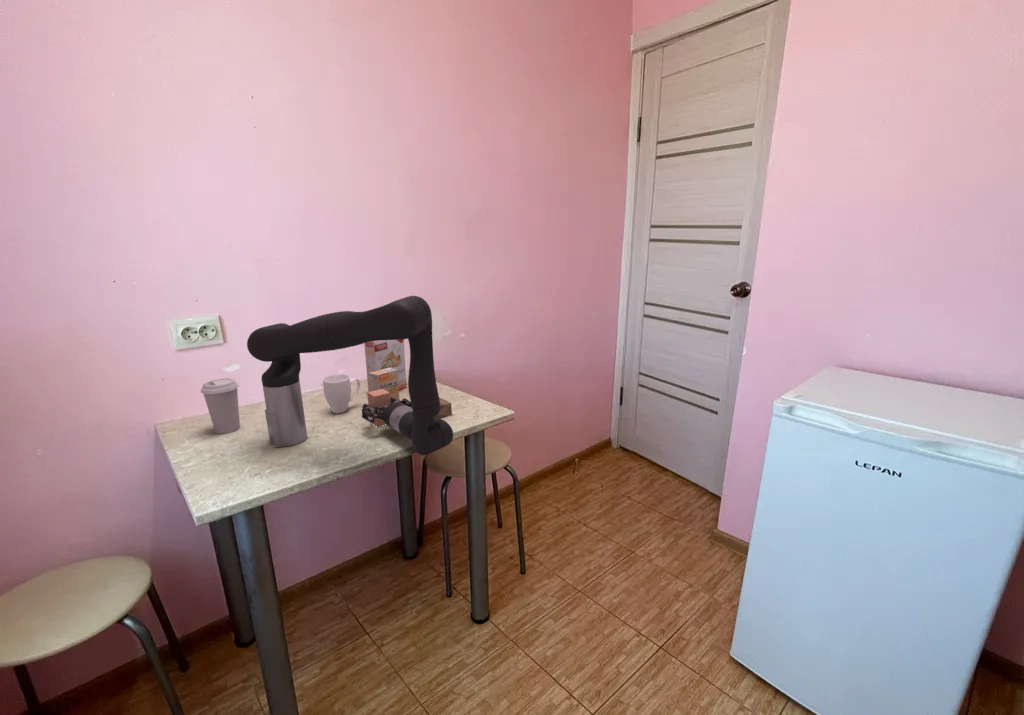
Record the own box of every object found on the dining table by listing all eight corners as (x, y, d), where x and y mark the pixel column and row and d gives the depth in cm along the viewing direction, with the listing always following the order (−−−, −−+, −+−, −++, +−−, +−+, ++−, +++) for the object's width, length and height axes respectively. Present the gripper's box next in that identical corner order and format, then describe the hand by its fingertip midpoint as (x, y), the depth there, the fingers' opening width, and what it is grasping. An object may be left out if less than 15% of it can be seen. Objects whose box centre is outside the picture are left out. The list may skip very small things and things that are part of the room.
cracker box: (379, 398, 164) (374, 341, 159) (368, 395, 167) (362, 339, 162) (408, 388, 175) (404, 334, 170) (396, 385, 179) (392, 332, 173)
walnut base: (424, 422, 142) (423, 410, 141) (408, 413, 150) (407, 402, 149) (451, 414, 149) (451, 403, 148) (435, 406, 156) (434, 395, 155)
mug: (333, 417, 147) (329, 383, 144) (322, 411, 153) (318, 378, 150) (367, 407, 156) (364, 375, 153) (355, 401, 161) (352, 370, 158)
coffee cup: (212, 425, 142) (203, 379, 138) (247, 421, 146) (239, 375, 142) (205, 438, 134) (195, 389, 130) (243, 432, 137) (234, 384, 133)
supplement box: (380, 413, 151) (377, 374, 147) (371, 410, 154) (368, 372, 150) (400, 405, 157) (397, 368, 154) (391, 403, 160) (388, 366, 157)
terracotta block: (377, 427, 139) (374, 396, 137) (370, 422, 143) (367, 392, 141) (392, 423, 143) (389, 392, 140) (385, 418, 146) (382, 388, 144)
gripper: (423, 400, 134) (397, 387, 146) (377, 412, 125) (353, 397, 137) (425, 424, 136) (399, 409, 148) (379, 438, 127) (356, 420, 139)
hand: (377, 403), depth 142 cm, fingers open, 8 cm apart
